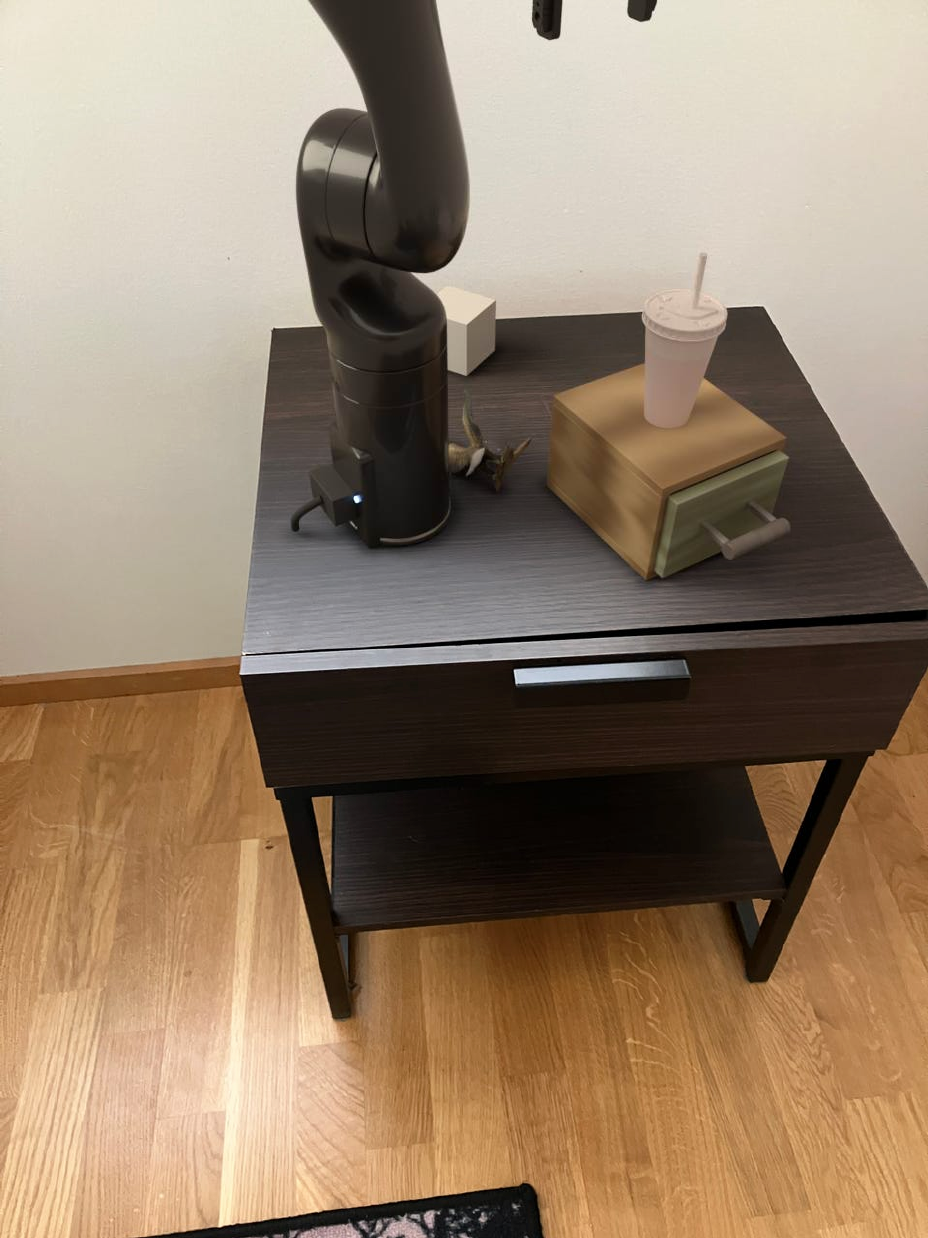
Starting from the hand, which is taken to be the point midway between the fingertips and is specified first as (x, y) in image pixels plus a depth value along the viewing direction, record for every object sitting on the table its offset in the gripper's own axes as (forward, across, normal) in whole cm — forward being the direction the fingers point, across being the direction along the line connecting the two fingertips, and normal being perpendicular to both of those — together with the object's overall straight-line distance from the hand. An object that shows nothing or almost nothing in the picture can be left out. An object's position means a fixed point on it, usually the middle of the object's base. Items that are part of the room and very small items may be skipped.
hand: (593, 27), depth 73 cm
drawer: (+33, +2, +21) cm, 39 cm away
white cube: (+34, +4, -14) cm, 37 cm away
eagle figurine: (+34, +13, +4) cm, 37 cm away
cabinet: (+34, +2, +17) cm, 38 cm away
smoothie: (+24, +2, +17) cm, 30 cm away
